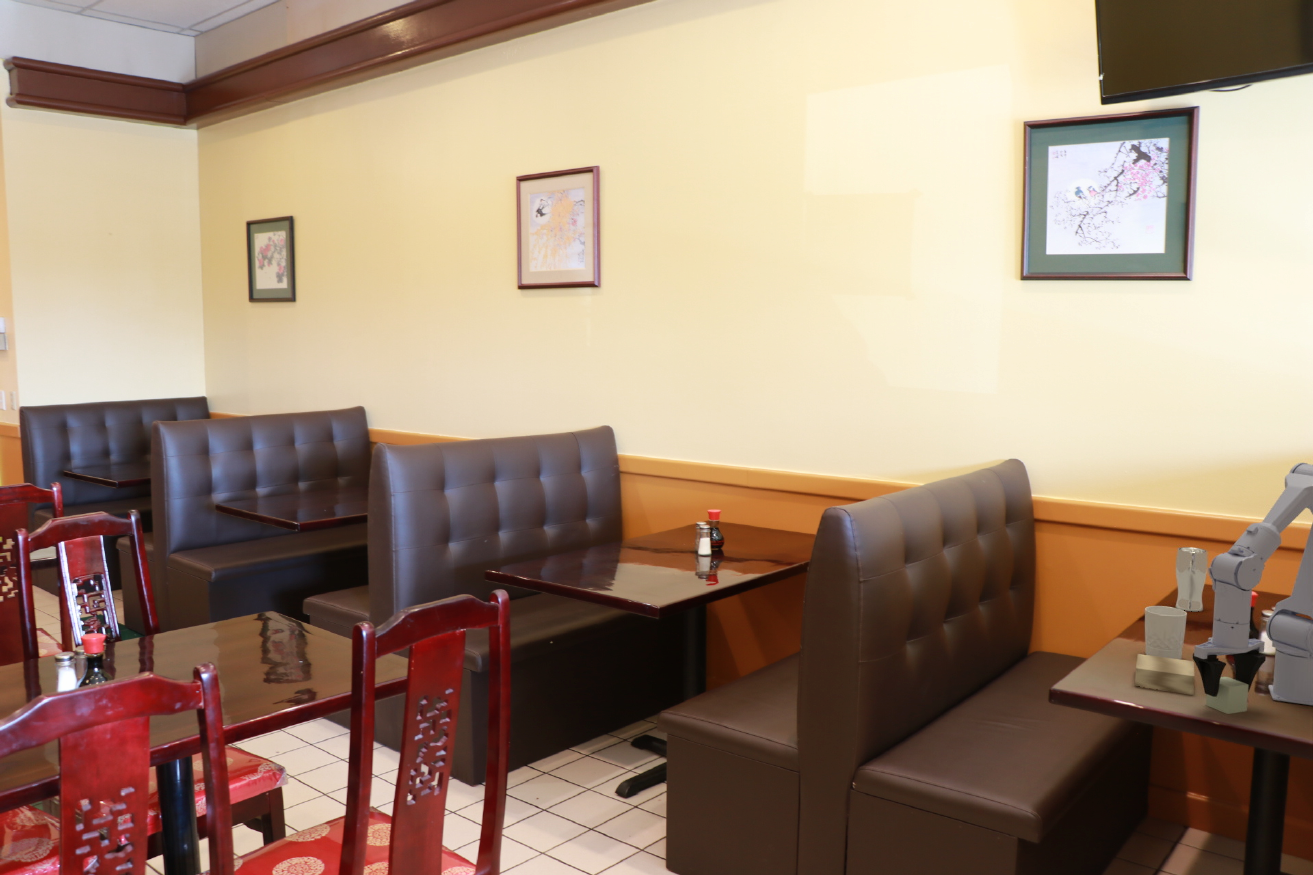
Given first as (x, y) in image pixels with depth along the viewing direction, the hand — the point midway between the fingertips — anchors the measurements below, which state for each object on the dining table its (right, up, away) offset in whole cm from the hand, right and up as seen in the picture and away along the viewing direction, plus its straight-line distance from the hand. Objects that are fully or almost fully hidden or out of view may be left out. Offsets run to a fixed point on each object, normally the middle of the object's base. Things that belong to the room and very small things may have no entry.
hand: (1226, 692), depth 181 cm
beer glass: (+30, +3, +68) cm, 74 cm away
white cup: (+4, 0, +30) cm, 30 cm away
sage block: (0, -3, 0) cm, 3 cm away
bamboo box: (-4, -2, +14) cm, 14 cm away
